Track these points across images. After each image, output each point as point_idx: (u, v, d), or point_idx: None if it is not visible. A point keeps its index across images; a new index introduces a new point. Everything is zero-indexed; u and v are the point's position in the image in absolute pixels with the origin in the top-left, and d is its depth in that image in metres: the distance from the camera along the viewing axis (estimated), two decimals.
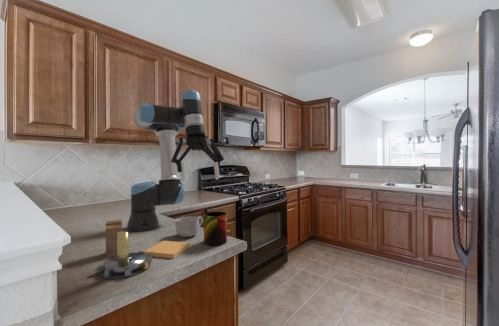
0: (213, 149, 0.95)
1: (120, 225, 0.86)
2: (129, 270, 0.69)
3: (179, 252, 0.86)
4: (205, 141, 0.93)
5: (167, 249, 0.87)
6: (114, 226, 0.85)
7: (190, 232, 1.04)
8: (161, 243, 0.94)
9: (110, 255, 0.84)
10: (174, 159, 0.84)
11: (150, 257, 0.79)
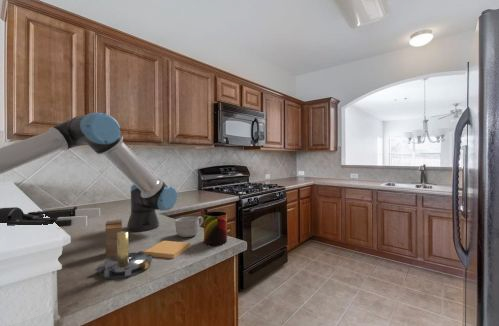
0: None
1: (120, 225, 0.86)
2: (129, 270, 0.69)
3: (179, 252, 0.86)
4: None
5: (167, 249, 0.87)
6: (114, 226, 0.85)
7: (190, 232, 1.04)
8: (161, 243, 0.94)
9: (110, 255, 0.84)
10: None
11: (150, 257, 0.79)
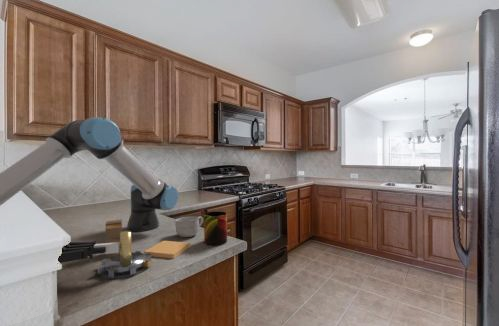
0: None
1: (120, 225, 0.86)
2: (134, 269, 0.70)
3: (179, 252, 0.86)
4: None
5: (167, 249, 0.87)
6: (114, 226, 0.85)
7: (190, 232, 1.04)
8: (161, 243, 0.94)
9: (110, 255, 0.84)
10: None
11: (149, 256, 0.80)
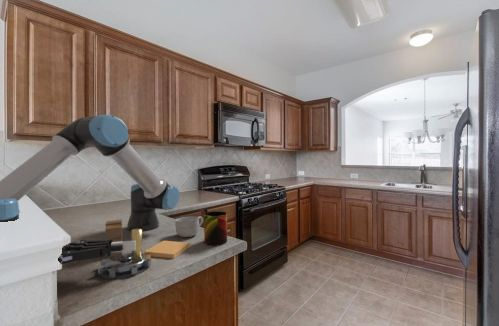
0: None
1: (120, 225, 0.86)
2: (150, 260, 0.76)
3: (179, 252, 0.86)
4: None
5: (167, 249, 0.87)
6: (114, 226, 0.85)
7: (190, 232, 1.04)
8: (161, 243, 0.94)
9: (110, 255, 0.84)
10: None
11: None
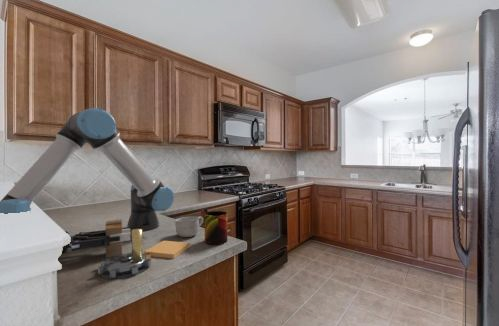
0: None
1: (120, 225, 0.86)
2: (150, 260, 0.76)
3: (179, 252, 0.86)
4: None
5: (167, 249, 0.87)
6: (114, 226, 0.85)
7: (190, 232, 1.04)
8: (161, 243, 0.94)
9: (110, 255, 0.84)
10: None
11: None
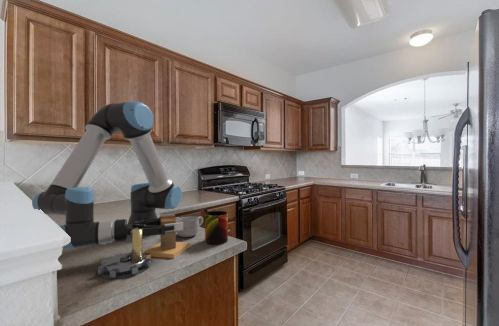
0: None
1: (174, 218, 0.89)
2: (150, 260, 0.76)
3: (179, 252, 0.86)
4: None
5: (167, 249, 0.87)
6: (169, 219, 0.88)
7: (190, 232, 1.04)
8: None
9: (165, 248, 0.87)
10: None
11: None
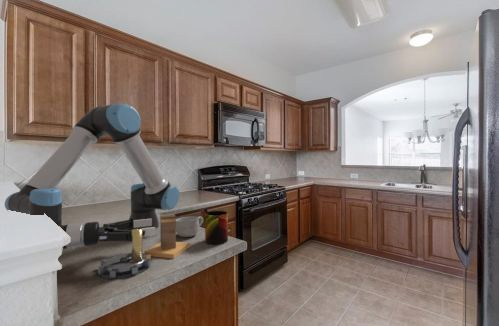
0: None
1: (174, 219, 0.88)
2: (150, 260, 0.76)
3: (179, 252, 0.86)
4: None
5: (167, 249, 0.87)
6: (169, 220, 0.88)
7: (190, 232, 1.04)
8: None
9: (165, 248, 0.87)
10: None
11: None
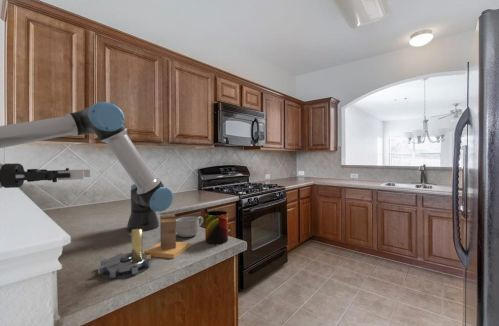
0: None
1: (174, 219, 0.88)
2: (150, 260, 0.76)
3: (179, 252, 0.86)
4: None
5: (167, 249, 0.87)
6: (169, 220, 0.88)
7: (190, 232, 1.04)
8: None
9: (165, 248, 0.87)
10: None
11: None
